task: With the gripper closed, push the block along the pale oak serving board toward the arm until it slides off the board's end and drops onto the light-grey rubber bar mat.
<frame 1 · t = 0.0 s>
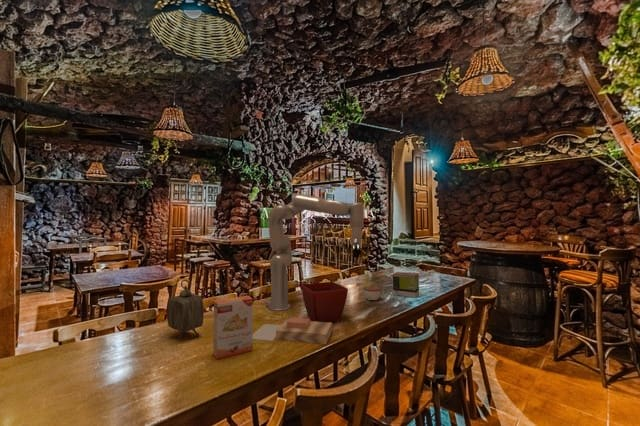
hand: (356, 256, 165), 31 cm above the table, fingers open, 9 cm apart
cracker box: (233, 353, 117), on the table
tabletop clock: (184, 336, 132), on the table
plant pot: (323, 319, 155), on the table
lidded jar: (372, 300, 190), on the table
tea box: (406, 295, 201), on the table
bar mat: (268, 332, 137), on the table
block: (298, 325, 134), point 4 cm above the table, touching board
board: (305, 335, 133), on the table
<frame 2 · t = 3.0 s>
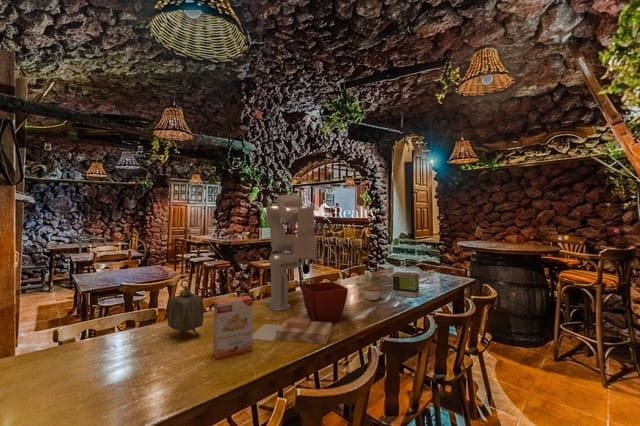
hand: (306, 273, 136), 27 cm above the table, fingers closed
nothing on the table moved.
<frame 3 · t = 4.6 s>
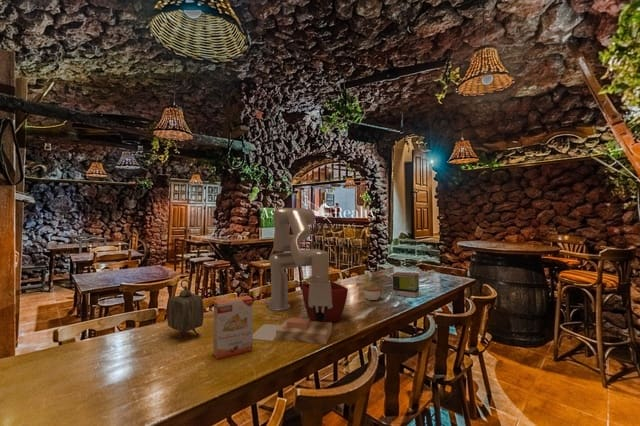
hand: (320, 320, 131), 7 cm above the table, fingers closed
nothing on the table moved.
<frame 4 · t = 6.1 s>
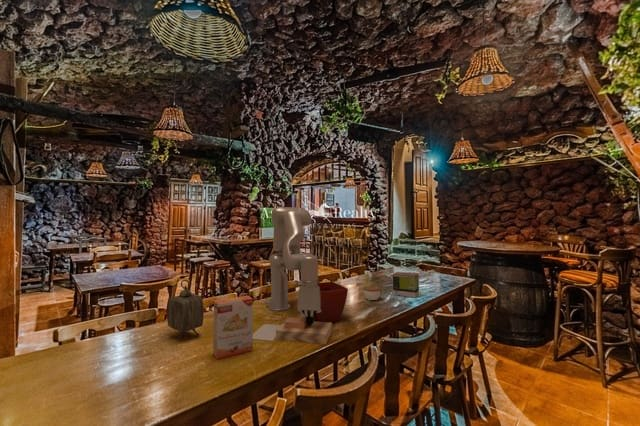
hand: (309, 324, 133), 5 cm above the table, fingers closed
block: (296, 325, 134), point 4 cm above the table, touching board, gripper
everything else where it was.
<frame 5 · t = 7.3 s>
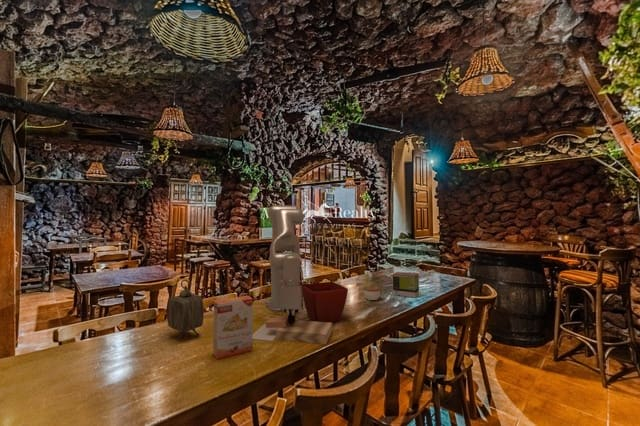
hand: (291, 323, 135), 5 cm above the table, fingers closed
block: (278, 325, 135), point 4 cm above the table, tilted 6°, touching board
everything else where it was.
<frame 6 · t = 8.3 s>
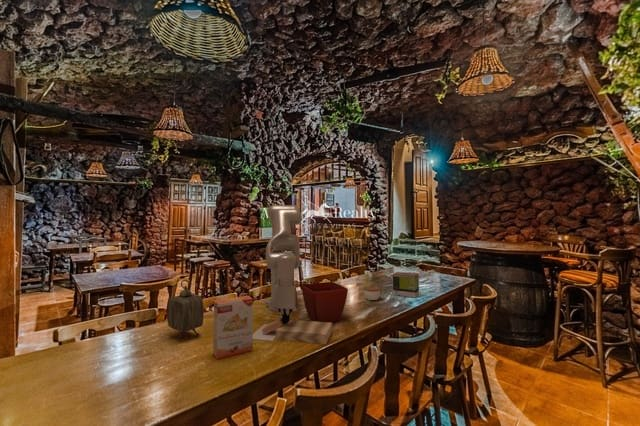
hand: (285, 322, 135), 5 cm above the table, fingers closed
block: (275, 328, 135), point 2 cm above the table, tilted 29°, touching bar mat, gripper
everything else where it was.
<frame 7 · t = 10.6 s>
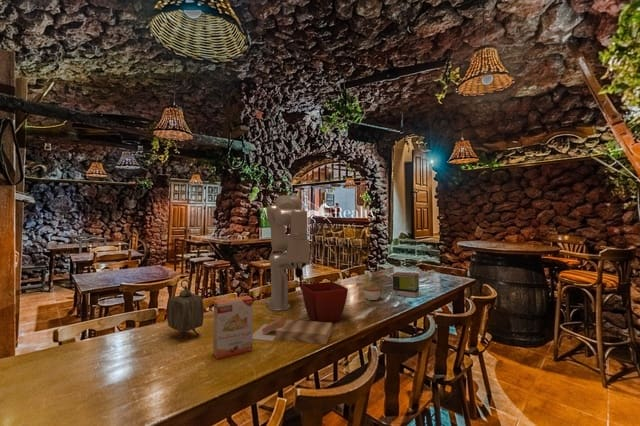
hand: (298, 277, 136), 26 cm above the table, fingers closed
block: (275, 328, 135), point 2 cm above the table, tilted 29°, touching bar mat, board
everything else where it was.
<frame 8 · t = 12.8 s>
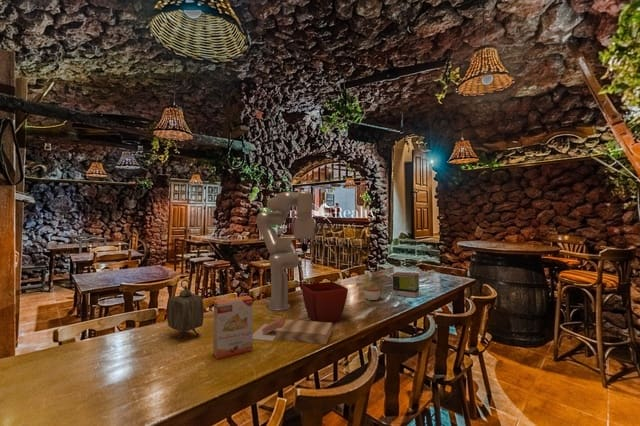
hand: (304, 251, 152), 35 cm above the table, fingers closed
nothing on the table moved.
at the end: block point 2.5 cm above the table; block inside the target area on the bar mat (3.8 cm from its centre), point 2.5 cm above the bar mat's base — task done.
